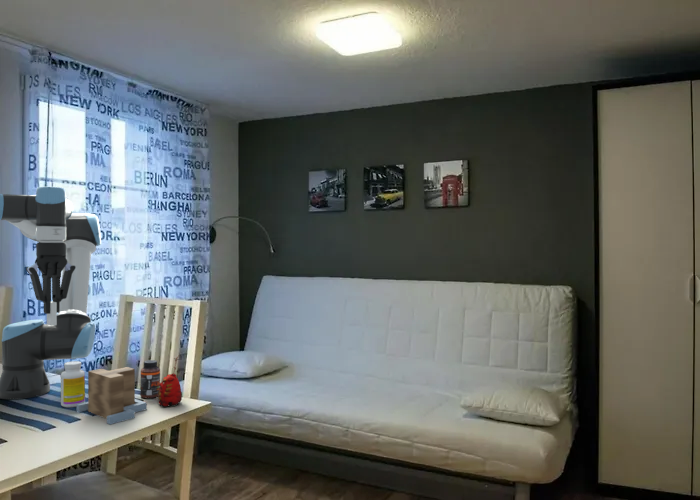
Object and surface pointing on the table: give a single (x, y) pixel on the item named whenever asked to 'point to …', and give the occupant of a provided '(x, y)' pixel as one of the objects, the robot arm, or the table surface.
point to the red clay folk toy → (170, 390)
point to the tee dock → (127, 414)
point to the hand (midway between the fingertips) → (51, 324)
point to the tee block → (110, 391)
